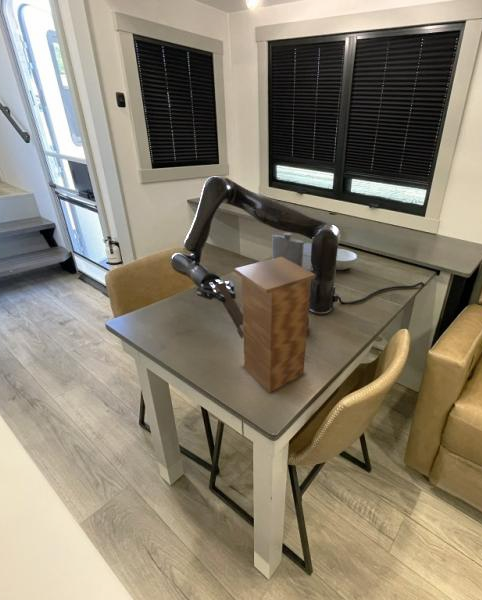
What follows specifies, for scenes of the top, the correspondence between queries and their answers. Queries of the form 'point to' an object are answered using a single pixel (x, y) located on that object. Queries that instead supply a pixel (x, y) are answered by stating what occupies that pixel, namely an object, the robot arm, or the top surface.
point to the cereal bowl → (345, 259)
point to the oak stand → (275, 319)
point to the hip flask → (288, 248)
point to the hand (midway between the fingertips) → (229, 298)
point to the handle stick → (231, 307)
